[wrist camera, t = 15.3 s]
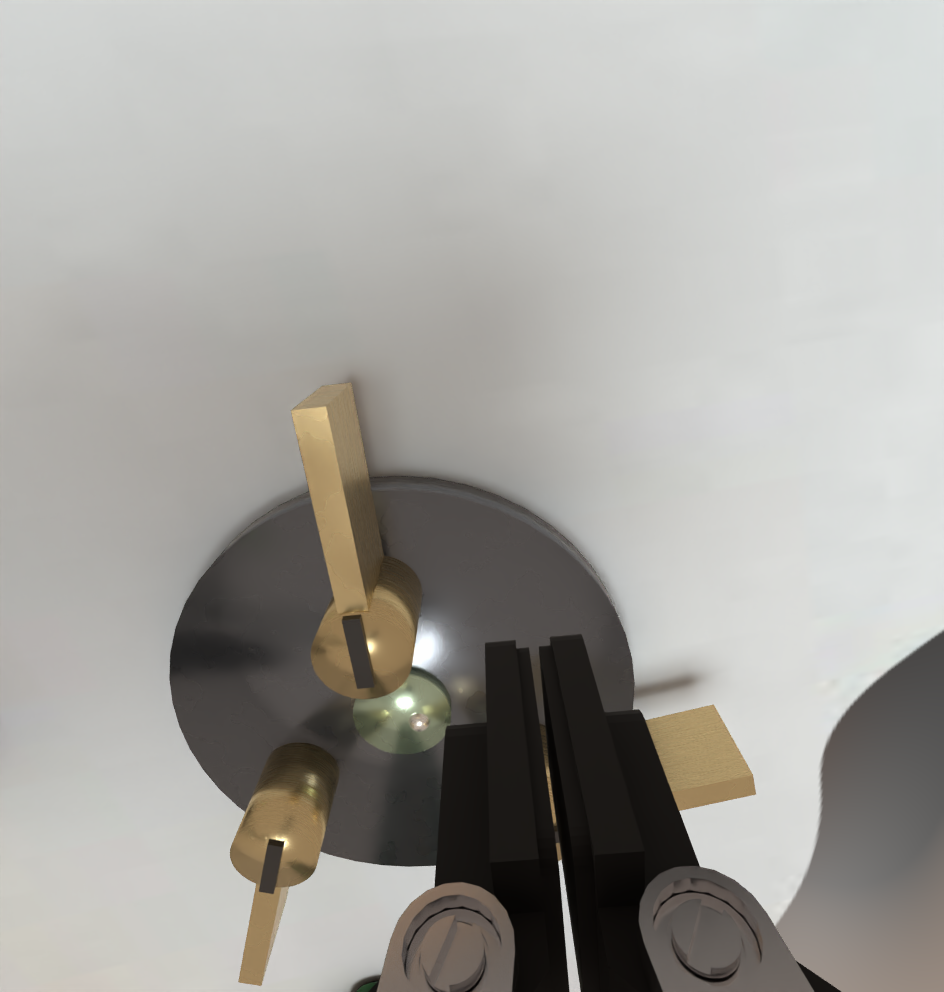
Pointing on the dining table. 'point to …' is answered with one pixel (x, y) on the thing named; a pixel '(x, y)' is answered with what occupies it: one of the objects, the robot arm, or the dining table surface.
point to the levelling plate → (436, 662)
